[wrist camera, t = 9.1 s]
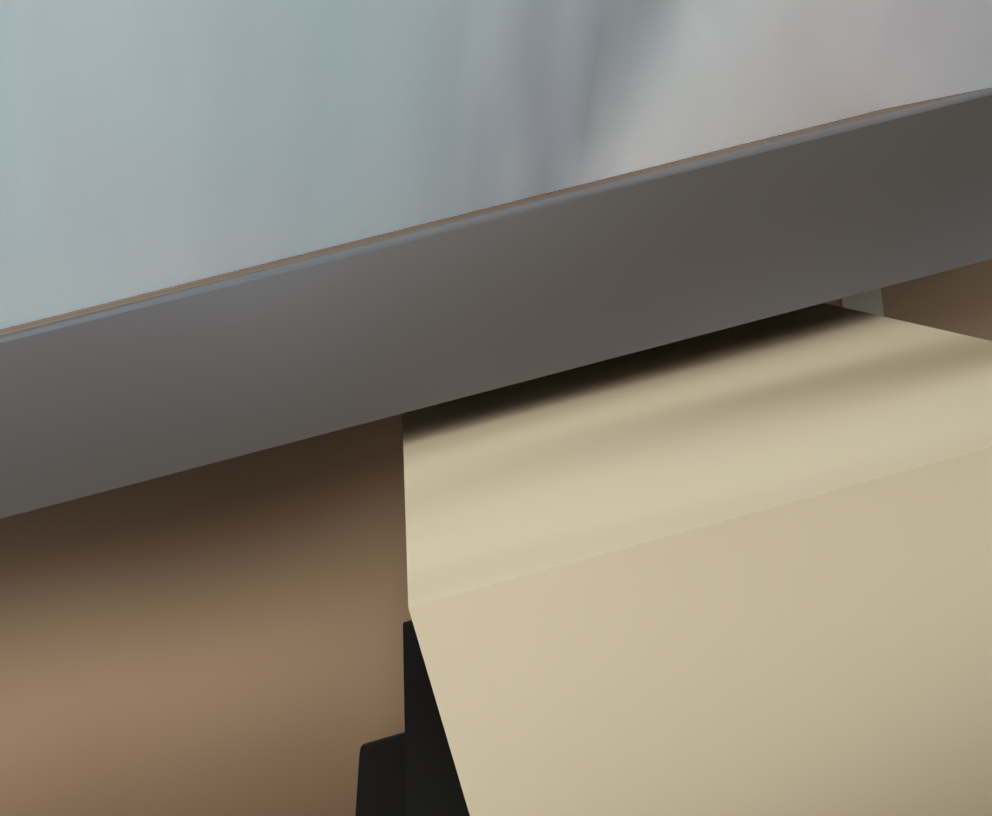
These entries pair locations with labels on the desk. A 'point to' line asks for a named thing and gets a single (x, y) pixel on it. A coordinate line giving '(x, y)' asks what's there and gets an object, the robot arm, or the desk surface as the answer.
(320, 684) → the walnut board
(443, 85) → the desk surface
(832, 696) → the block
